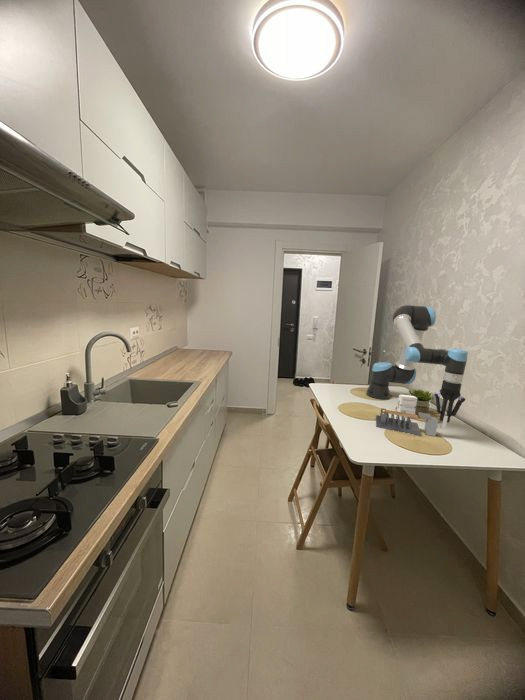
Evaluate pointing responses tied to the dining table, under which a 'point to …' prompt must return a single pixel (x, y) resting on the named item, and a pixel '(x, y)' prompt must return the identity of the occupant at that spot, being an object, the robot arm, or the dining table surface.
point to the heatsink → (397, 423)
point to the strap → (399, 413)
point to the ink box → (407, 404)
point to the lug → (429, 423)
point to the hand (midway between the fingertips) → (442, 427)
